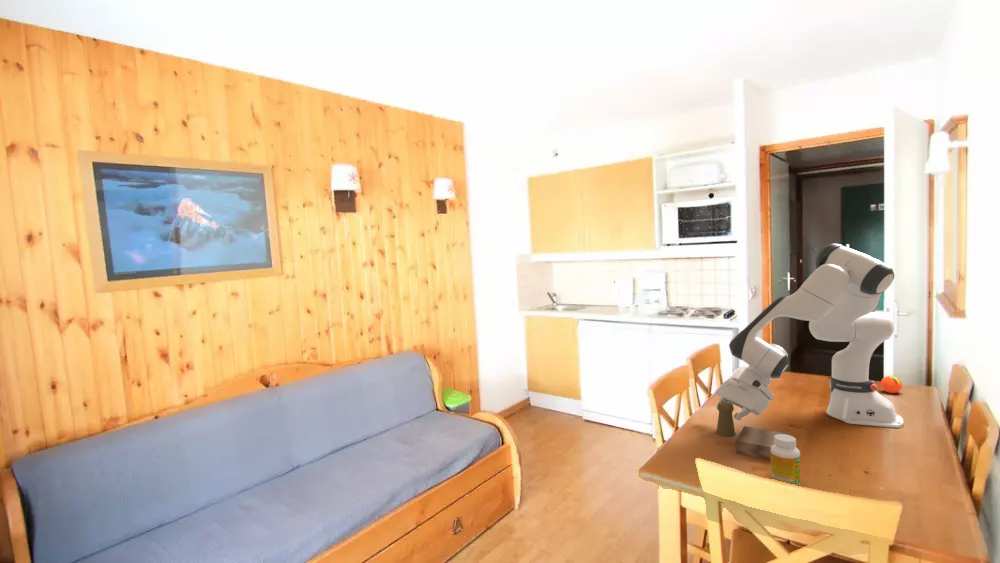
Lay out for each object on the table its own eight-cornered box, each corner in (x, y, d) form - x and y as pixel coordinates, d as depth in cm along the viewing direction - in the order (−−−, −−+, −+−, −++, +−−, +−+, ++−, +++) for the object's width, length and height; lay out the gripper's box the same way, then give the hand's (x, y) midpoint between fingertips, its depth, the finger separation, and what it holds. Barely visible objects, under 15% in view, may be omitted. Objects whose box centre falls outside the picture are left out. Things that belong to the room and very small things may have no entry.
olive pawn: (737, 436, 166) (737, 405, 165) (718, 436, 167) (718, 405, 167) (732, 430, 172) (732, 400, 171) (714, 429, 173) (714, 399, 172)
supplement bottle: (800, 490, 130) (800, 444, 129) (770, 485, 134) (769, 440, 133) (800, 479, 136) (800, 435, 135) (771, 474, 140) (771, 431, 139)
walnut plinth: (791, 445, 157) (791, 433, 157) (786, 462, 146) (786, 450, 146) (744, 437, 165) (744, 426, 165) (736, 452, 154) (735, 440, 154)
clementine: (908, 395, 197) (908, 378, 196) (891, 396, 197) (891, 379, 196) (892, 389, 205) (893, 373, 204) (876, 390, 205) (876, 374, 204)
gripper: (726, 371, 180) (703, 399, 178) (766, 386, 160) (741, 418, 158) (737, 381, 181) (714, 410, 180) (778, 397, 161) (753, 430, 160)
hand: (727, 414), depth 169 cm, fingers open, 8 cm apart
